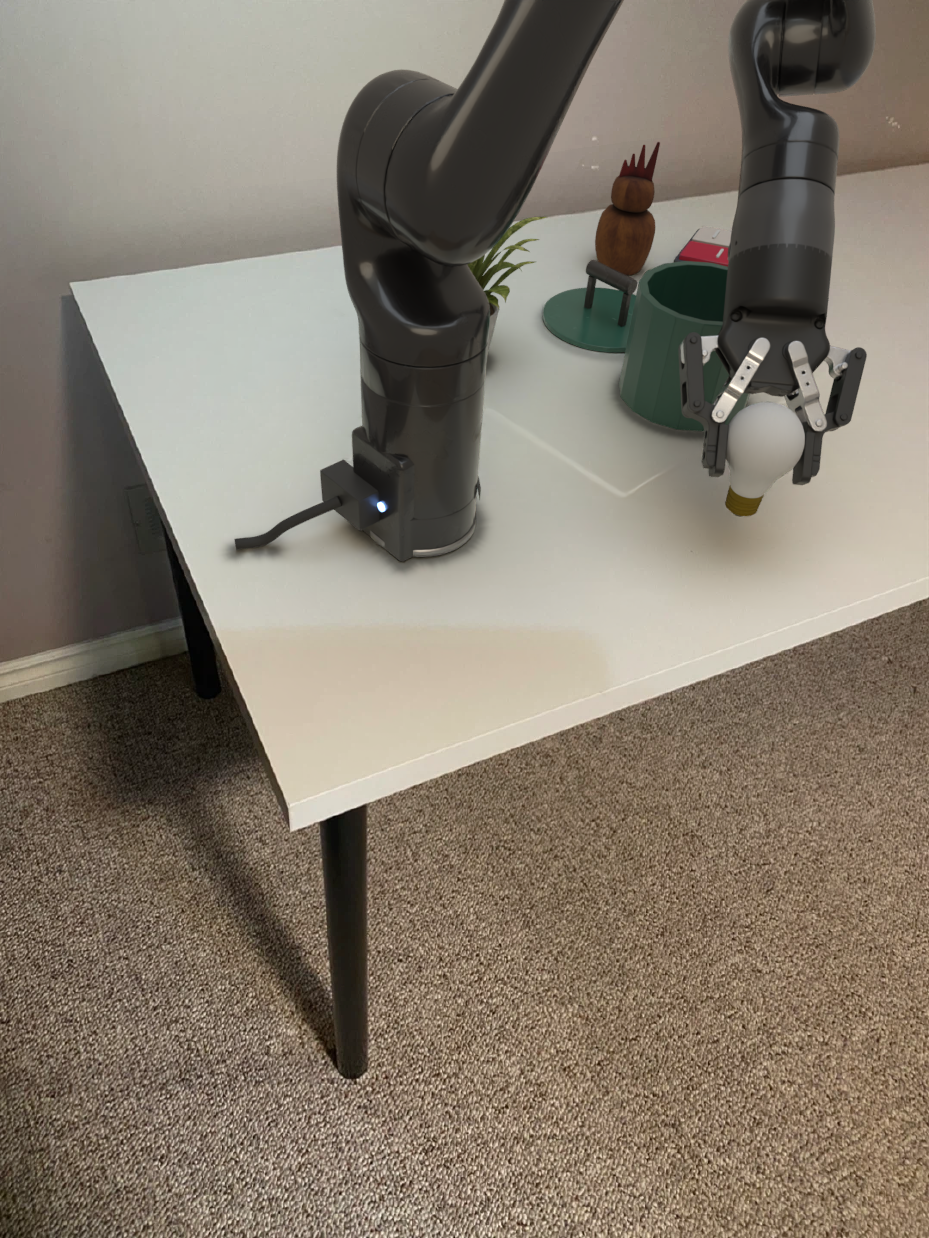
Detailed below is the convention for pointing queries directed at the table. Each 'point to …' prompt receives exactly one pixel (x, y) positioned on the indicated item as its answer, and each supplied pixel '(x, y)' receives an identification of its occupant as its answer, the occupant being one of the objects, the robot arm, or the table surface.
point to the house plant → (480, 267)
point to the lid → (594, 311)
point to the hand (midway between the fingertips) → (758, 479)
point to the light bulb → (760, 453)
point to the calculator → (707, 246)
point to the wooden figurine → (628, 217)
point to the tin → (673, 340)
